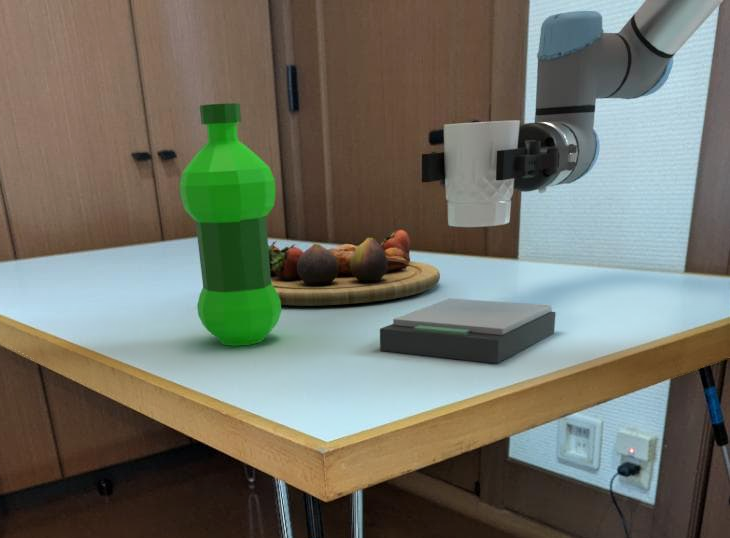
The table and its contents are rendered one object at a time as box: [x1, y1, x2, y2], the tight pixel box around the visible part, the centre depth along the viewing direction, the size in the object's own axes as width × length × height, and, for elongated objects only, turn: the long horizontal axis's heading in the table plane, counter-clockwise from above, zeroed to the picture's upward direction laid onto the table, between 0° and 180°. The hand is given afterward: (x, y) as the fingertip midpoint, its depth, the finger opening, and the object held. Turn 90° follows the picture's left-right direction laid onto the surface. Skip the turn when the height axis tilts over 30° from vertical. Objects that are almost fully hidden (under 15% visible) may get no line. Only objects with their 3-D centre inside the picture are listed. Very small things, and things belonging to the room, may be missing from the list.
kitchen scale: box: [379, 297, 557, 365], centre depth 89 cm, size 14×15×3 cm
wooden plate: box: [268, 229, 441, 307], centre depth 124 cm, size 32×32×8 cm
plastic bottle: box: [179, 102, 282, 347], centre depth 91 cm, size 10×10×25 cm
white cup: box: [443, 119, 521, 228], centre depth 86 cm, size 8×8×10 cm
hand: (461, 166), depth 82 cm, fingers closed on white cup, 8 cm apart
